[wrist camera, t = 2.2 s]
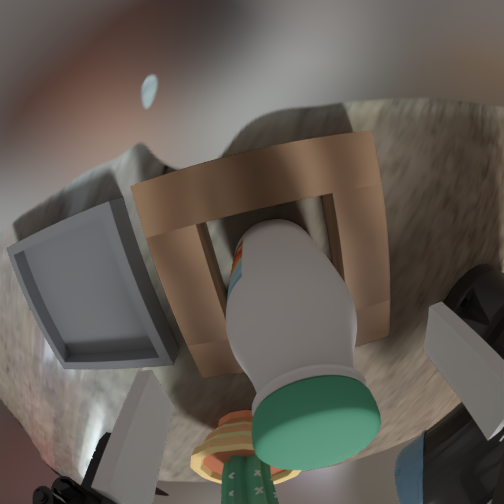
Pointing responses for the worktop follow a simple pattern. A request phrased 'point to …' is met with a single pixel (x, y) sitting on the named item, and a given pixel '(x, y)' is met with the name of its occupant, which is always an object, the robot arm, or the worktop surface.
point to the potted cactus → (237, 463)
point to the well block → (256, 197)
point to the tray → (94, 292)
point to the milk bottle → (297, 350)
